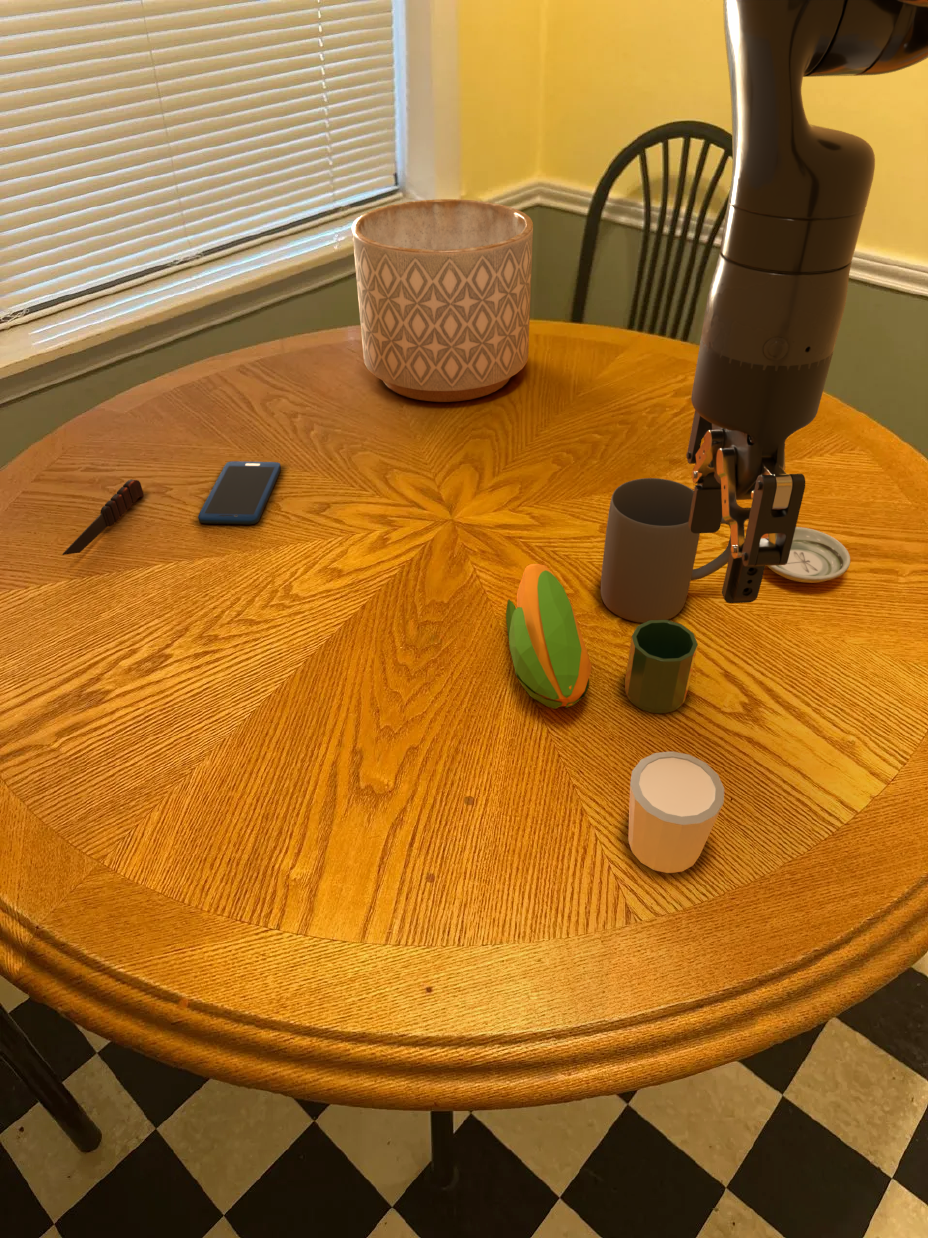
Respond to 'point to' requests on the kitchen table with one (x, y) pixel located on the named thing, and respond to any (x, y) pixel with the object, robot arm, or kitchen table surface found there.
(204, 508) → the cell phone
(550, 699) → the corn
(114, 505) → the knife
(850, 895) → the kitchen table surface
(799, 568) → the saucer
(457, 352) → the planter
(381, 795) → the kitchen table surface
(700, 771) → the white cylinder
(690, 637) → the green faceted cup
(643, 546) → the mug
